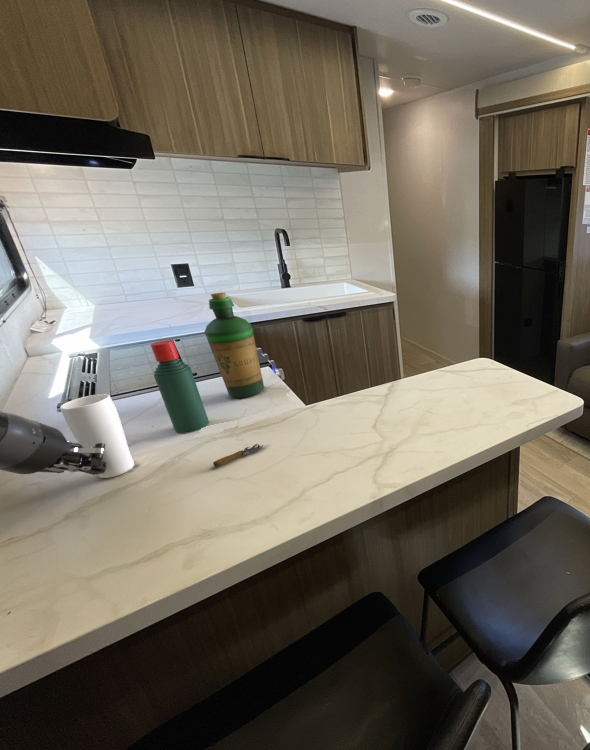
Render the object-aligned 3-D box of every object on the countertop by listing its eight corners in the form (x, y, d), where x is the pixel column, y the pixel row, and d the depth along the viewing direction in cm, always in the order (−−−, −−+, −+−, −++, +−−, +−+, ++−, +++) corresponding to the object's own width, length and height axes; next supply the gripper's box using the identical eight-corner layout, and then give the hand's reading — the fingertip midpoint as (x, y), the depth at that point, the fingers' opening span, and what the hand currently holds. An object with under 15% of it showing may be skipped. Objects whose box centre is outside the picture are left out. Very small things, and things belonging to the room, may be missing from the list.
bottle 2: (226, 404, 107) (192, 298, 97) (224, 392, 115) (193, 294, 105) (271, 393, 112) (243, 292, 102) (266, 383, 120) (240, 289, 111)
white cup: (127, 459, 82) (97, 391, 77) (147, 464, 79) (118, 395, 74) (85, 478, 76) (50, 406, 71) (106, 484, 74) (71, 410, 68)
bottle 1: (169, 435, 91) (136, 351, 84) (184, 422, 97) (155, 343, 90) (201, 431, 92) (171, 348, 85) (214, 418, 98) (187, 340, 91)
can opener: (215, 468, 77) (214, 463, 76) (212, 464, 78) (210, 459, 78) (265, 448, 83) (264, 443, 83) (261, 445, 84) (259, 440, 84)
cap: (183, 356, 90) (177, 340, 89) (165, 362, 87) (158, 345, 85) (170, 356, 91) (165, 339, 90) (152, 361, 88) (145, 344, 86)
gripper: (-56, 475, 56) (53, 496, 71) (56, 459, 58) (138, 482, 74) (-38, 425, 59) (63, 455, 74) (68, 411, 61) (145, 443, 77)
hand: (101, 468), depth 74 cm, fingers closed
